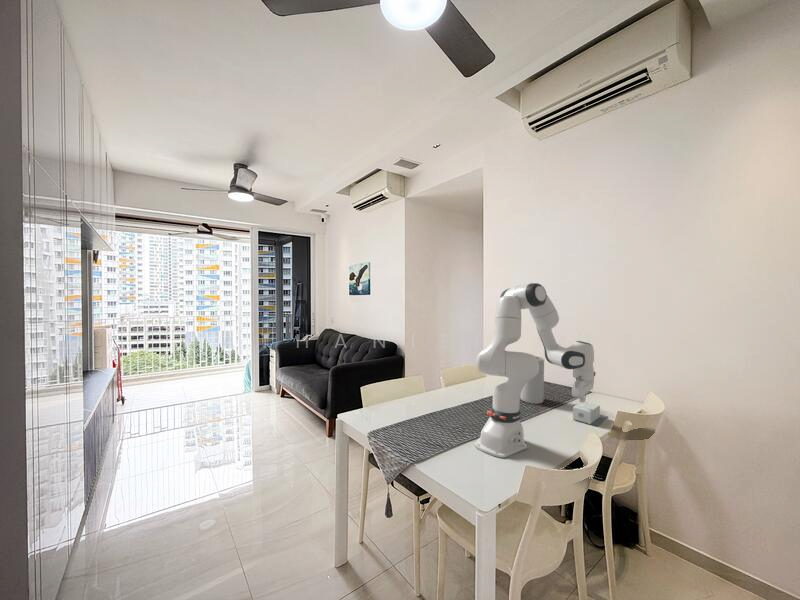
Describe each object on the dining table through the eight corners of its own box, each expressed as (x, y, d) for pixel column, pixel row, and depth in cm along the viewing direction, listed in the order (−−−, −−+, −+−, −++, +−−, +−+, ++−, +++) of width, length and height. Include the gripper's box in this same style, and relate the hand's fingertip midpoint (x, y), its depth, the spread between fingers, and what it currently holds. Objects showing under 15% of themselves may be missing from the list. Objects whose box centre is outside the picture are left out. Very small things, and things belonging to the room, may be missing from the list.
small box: (590, 424, 151) (600, 417, 159) (590, 411, 150) (600, 404, 159) (572, 419, 157) (582, 412, 165) (572, 406, 157) (582, 400, 165)
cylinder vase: (536, 396, 191) (537, 355, 190) (547, 404, 178) (548, 360, 177) (516, 396, 190) (517, 355, 189) (526, 404, 178) (527, 360, 176)
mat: (597, 426, 150) (597, 425, 150) (577, 420, 156) (577, 419, 156) (607, 417, 160) (607, 416, 160) (587, 411, 167) (587, 411, 167)
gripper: (583, 379, 145) (582, 409, 145) (596, 371, 159) (596, 398, 159) (568, 377, 149) (567, 405, 150) (582, 369, 163) (582, 395, 164)
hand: (582, 401), depth 155 cm, fingers closed
